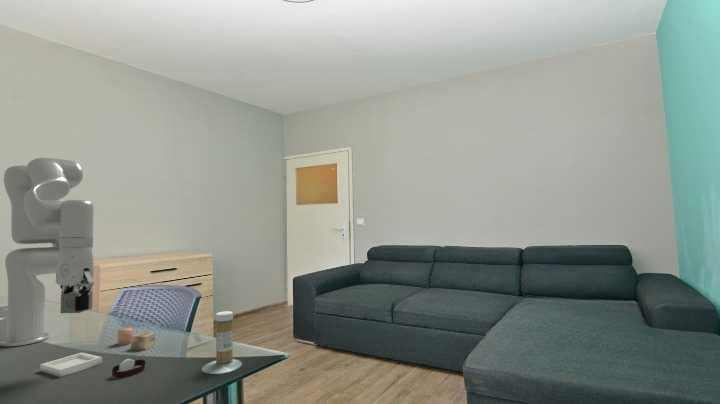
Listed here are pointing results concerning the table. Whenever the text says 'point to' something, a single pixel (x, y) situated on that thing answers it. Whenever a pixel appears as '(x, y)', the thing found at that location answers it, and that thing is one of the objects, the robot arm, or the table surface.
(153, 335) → the oak block
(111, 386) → the table surface
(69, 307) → the grey marked block
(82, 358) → the dish
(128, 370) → the watch
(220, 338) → the sprinkles bottle
